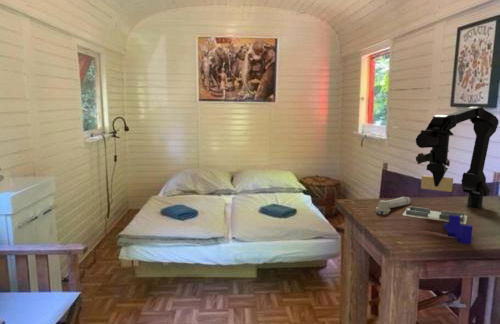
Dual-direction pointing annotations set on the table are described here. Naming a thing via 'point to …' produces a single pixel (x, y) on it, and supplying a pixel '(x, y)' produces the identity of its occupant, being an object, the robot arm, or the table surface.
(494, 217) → the table surface
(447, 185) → the link bar
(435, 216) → the base board
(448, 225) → the cable clip
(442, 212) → the chain end links
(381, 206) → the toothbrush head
